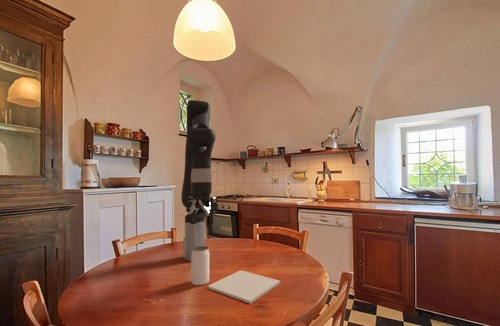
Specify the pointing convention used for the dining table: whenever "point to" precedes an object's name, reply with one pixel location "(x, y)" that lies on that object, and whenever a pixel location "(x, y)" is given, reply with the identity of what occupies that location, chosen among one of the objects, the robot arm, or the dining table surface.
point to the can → (200, 265)
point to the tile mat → (244, 286)
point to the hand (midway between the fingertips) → (201, 225)
